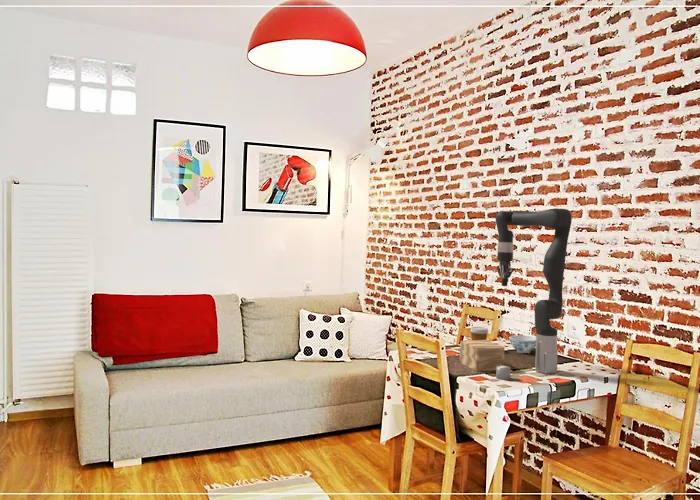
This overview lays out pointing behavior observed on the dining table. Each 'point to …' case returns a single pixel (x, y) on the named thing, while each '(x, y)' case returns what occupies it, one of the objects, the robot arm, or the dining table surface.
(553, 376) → the dining table surface
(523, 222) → the robot arm
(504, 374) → the grey rounded block
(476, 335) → the disposable coffee cup
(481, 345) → the box lid
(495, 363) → the wooden box
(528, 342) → the chinaware
